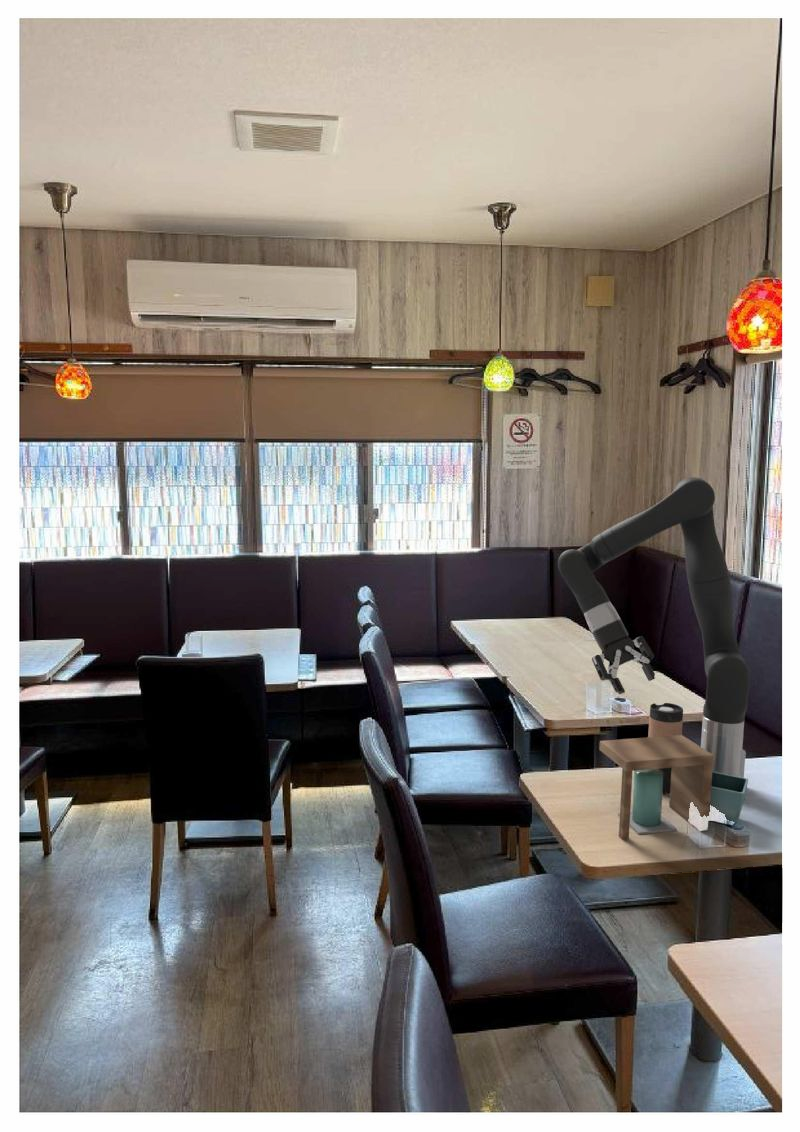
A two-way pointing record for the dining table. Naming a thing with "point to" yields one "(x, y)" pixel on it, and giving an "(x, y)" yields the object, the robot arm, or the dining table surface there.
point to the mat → (642, 829)
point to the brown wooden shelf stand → (664, 752)
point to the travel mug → (665, 730)
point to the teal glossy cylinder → (647, 797)
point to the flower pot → (728, 794)
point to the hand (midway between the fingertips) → (637, 686)
